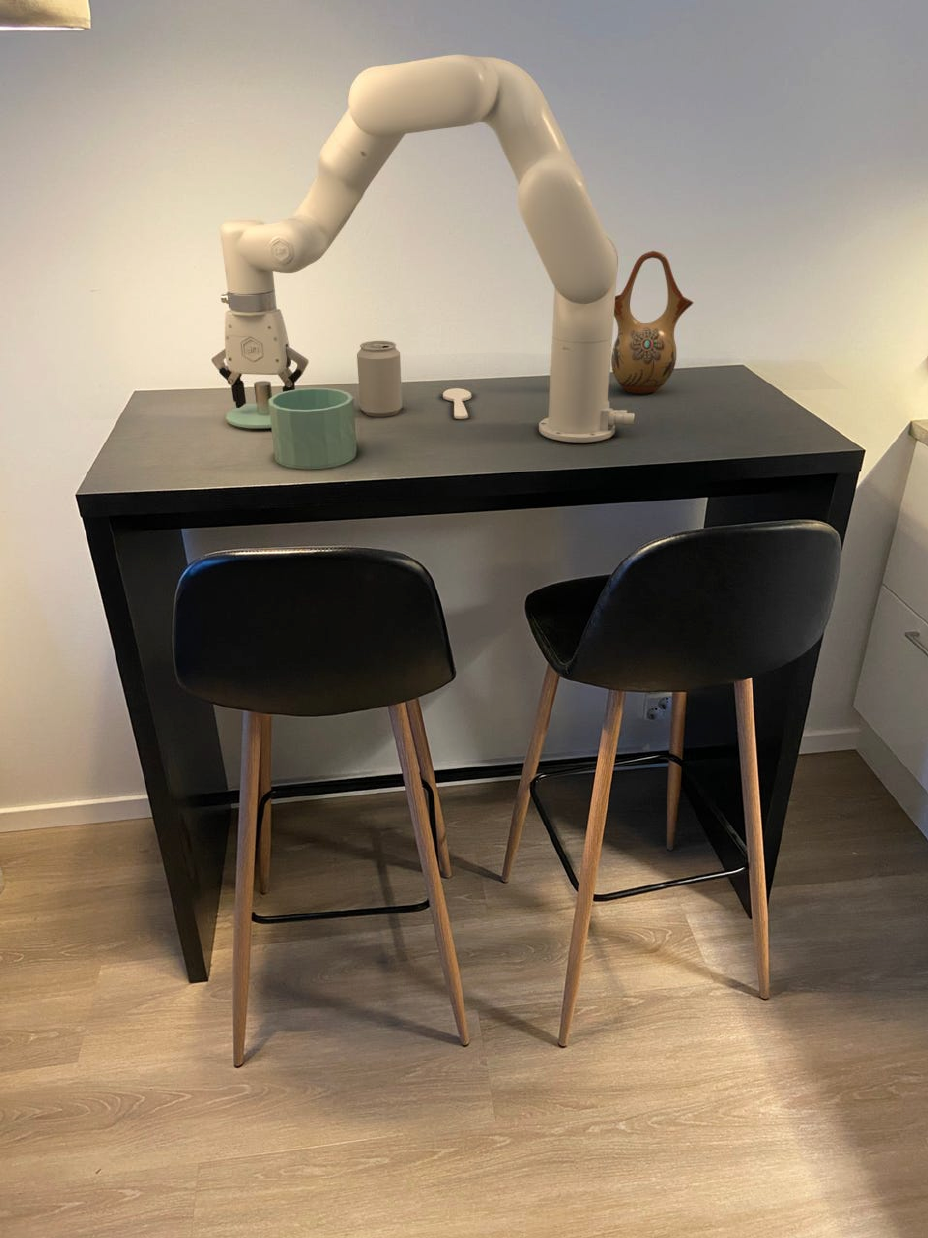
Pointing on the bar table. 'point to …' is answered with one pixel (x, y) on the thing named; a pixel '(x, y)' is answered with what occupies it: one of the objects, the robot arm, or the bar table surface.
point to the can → (379, 378)
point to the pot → (313, 428)
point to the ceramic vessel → (646, 336)
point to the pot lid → (253, 409)
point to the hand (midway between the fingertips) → (265, 406)
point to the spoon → (458, 401)
